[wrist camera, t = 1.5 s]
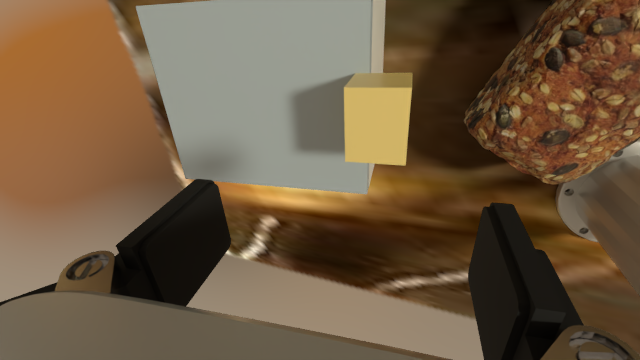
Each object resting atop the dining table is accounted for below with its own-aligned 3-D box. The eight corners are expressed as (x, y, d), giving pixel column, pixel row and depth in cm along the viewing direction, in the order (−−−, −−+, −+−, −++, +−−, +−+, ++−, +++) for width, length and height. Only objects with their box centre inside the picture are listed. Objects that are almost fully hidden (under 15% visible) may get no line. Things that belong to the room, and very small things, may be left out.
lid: (419, -13, 22) (420, -18, 16) (403, 184, 29) (400, 229, 23) (154, 5, 27) (85, 7, 21) (198, 168, 34) (155, 202, 29)
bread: (616, -92, 24) (721, -140, 16) (731, -19, 25) (893, -29, 16) (454, 111, 34) (467, 147, 26) (537, 161, 35) (576, 212, 26)
